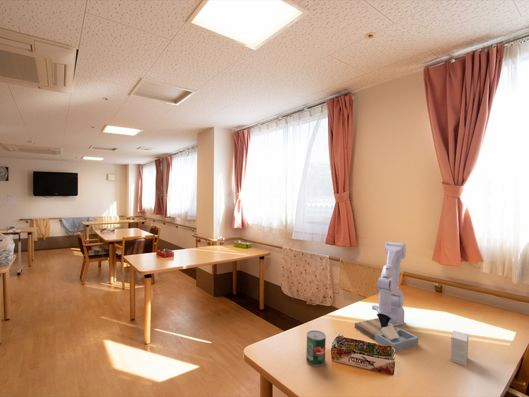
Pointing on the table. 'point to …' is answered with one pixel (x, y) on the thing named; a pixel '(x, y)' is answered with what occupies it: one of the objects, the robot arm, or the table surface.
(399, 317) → the robot arm
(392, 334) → the tile
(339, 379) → the table surface
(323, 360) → the canned tomato
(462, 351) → the small box
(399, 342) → the box
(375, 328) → the board
